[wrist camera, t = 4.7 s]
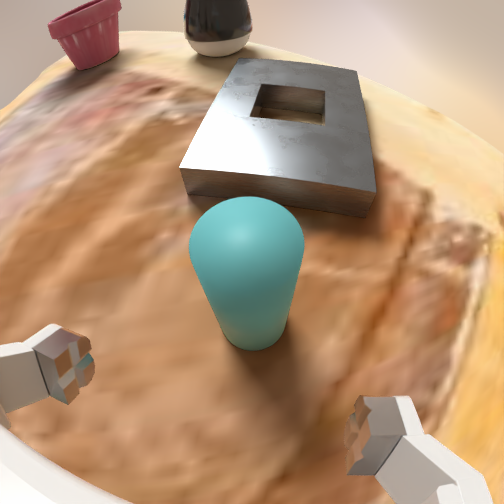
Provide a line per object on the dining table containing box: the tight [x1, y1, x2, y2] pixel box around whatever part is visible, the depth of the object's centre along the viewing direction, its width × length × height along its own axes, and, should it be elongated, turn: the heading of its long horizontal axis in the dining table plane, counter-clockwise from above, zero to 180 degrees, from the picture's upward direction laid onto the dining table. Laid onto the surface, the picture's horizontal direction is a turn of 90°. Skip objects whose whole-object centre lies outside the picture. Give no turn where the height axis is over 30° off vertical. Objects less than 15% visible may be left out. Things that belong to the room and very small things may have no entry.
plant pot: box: [48, 0, 122, 70], centre depth 38 cm, size 14×14×13 cm
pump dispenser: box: [184, 0, 252, 57], centre depth 32 cm, size 10×10×15 cm
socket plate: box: [180, 58, 376, 218], centre depth 26 cm, size 14×20×3 cm
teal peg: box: [189, 197, 304, 351], centre depth 14 cm, size 4×4×9 cm
